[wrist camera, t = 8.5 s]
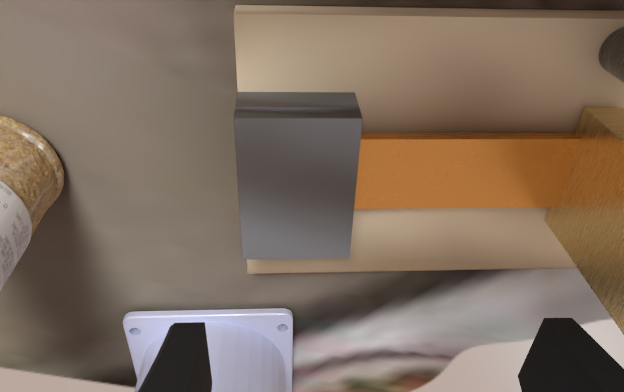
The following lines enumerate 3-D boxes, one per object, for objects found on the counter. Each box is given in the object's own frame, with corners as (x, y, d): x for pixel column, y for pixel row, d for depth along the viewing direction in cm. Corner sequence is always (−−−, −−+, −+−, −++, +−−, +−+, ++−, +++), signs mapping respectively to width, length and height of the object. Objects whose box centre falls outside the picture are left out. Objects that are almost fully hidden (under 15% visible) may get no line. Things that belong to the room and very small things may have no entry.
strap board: (674, 251, 25) (718, 297, 22) (248, 258, 23) (245, 308, 21) (808, 13, 18) (891, 41, 16) (235, 4, 17) (228, 34, 14)
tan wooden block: (581, 219, 21) (694, 360, 16) (325, 222, 21) (343, 371, 15) (627, 107, 18) (785, 230, 13) (331, 106, 18) (357, 236, 12)
